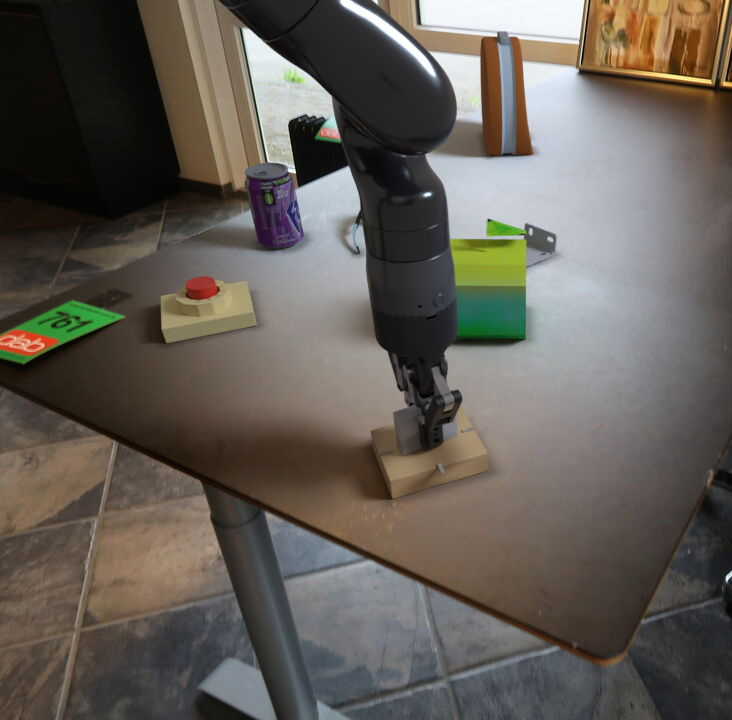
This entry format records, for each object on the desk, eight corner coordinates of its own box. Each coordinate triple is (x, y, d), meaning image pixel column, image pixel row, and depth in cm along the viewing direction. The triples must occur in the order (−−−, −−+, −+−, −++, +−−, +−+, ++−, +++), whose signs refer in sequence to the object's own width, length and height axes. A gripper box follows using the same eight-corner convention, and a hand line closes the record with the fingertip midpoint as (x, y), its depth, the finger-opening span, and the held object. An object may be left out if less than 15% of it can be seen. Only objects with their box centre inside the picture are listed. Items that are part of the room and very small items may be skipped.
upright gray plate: (403, 455, 70) (398, 419, 67) (397, 446, 71) (392, 410, 68) (457, 435, 72) (455, 399, 70) (451, 426, 73) (448, 391, 71)
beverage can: (290, 254, 110) (275, 180, 103) (250, 248, 111) (232, 175, 104) (312, 234, 116) (299, 163, 109) (273, 229, 117) (258, 159, 110)
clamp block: (394, 507, 68) (391, 488, 66) (369, 441, 75) (366, 422, 74) (493, 477, 71) (492, 458, 70) (460, 417, 79) (459, 399, 77)
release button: (189, 303, 91) (185, 291, 90) (188, 290, 93) (184, 279, 92) (219, 298, 92) (215, 286, 91) (217, 285, 94) (213, 273, 93)
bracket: (482, 262, 109) (482, 242, 107) (525, 241, 115) (525, 222, 113) (514, 276, 105) (514, 255, 103) (556, 254, 112) (557, 234, 110)
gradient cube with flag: (525, 347, 90) (526, 240, 81) (448, 346, 90) (441, 239, 81) (525, 303, 99) (526, 203, 90) (455, 303, 99) (449, 202, 90)
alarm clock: (536, 160, 146) (538, 43, 133) (489, 162, 145) (486, 44, 132) (524, 127, 164) (524, 21, 151) (481, 128, 163) (478, 21, 149)
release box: (166, 343, 89) (156, 317, 87) (165, 309, 96) (156, 284, 94) (257, 325, 93) (250, 299, 91) (249, 294, 100) (243, 269, 97)
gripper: (345, 268, 65) (368, 414, 75) (403, 340, 55) (421, 496, 65) (420, 250, 68) (433, 392, 78) (487, 315, 58) (492, 467, 68)
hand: (428, 438), depth 71 cm, fingers closed on upright gray plate
